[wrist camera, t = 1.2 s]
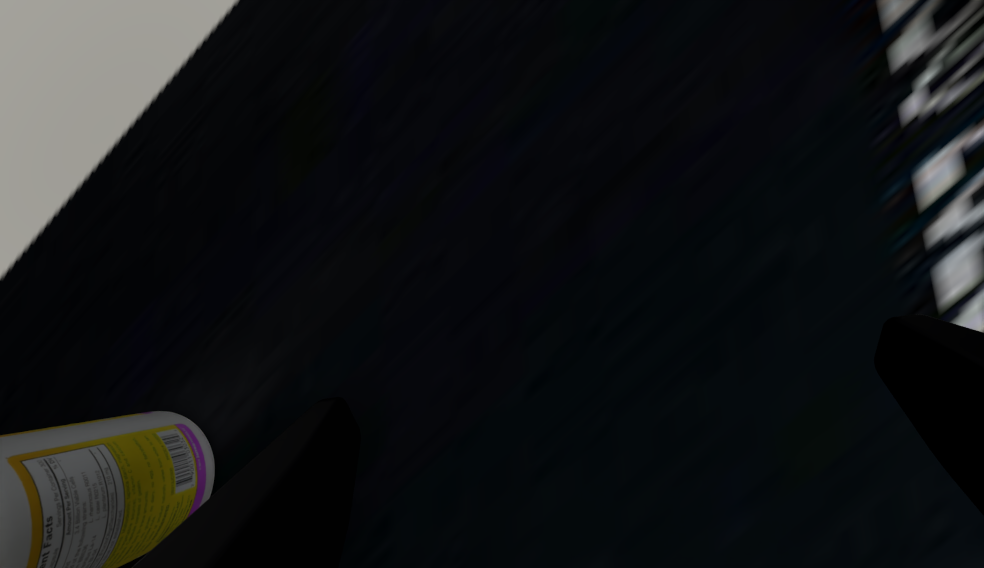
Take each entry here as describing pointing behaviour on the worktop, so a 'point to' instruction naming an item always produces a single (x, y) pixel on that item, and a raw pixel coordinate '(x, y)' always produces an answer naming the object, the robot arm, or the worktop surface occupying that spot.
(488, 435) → the worktop surface
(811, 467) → the worktop surface
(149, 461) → the supplement bottle
